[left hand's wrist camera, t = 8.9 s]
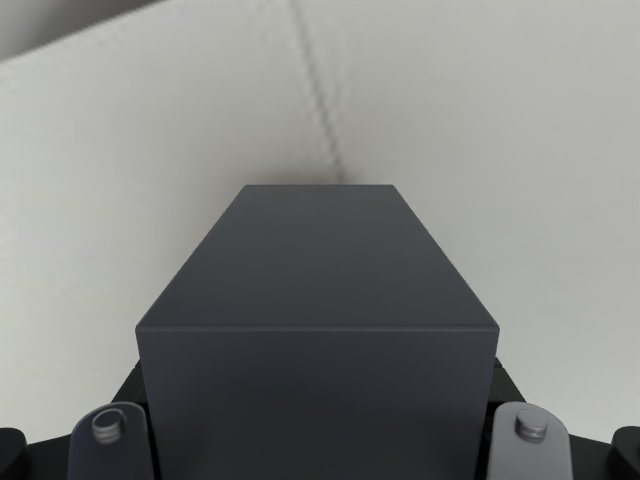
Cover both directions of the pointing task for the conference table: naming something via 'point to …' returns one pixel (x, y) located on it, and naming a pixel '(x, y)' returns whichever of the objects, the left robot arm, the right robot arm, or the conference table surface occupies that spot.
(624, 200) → the conference table surface
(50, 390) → the conference table surface
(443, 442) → the box
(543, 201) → the conference table surface
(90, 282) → the conference table surface
